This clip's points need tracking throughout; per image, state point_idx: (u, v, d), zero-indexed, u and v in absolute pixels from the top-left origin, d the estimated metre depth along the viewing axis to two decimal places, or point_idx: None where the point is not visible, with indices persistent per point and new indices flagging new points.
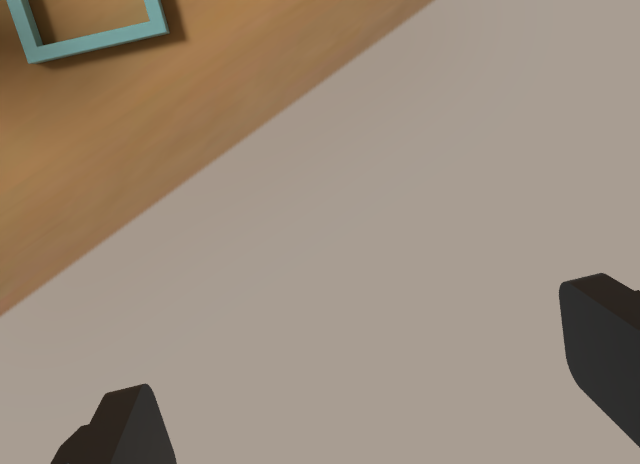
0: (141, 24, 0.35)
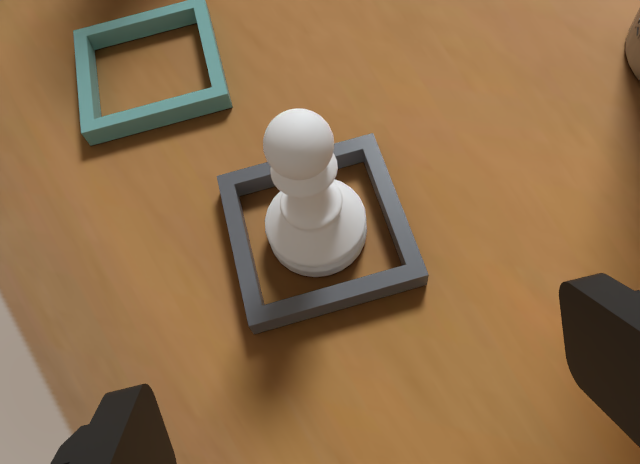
0: (92, 112, 0.33)
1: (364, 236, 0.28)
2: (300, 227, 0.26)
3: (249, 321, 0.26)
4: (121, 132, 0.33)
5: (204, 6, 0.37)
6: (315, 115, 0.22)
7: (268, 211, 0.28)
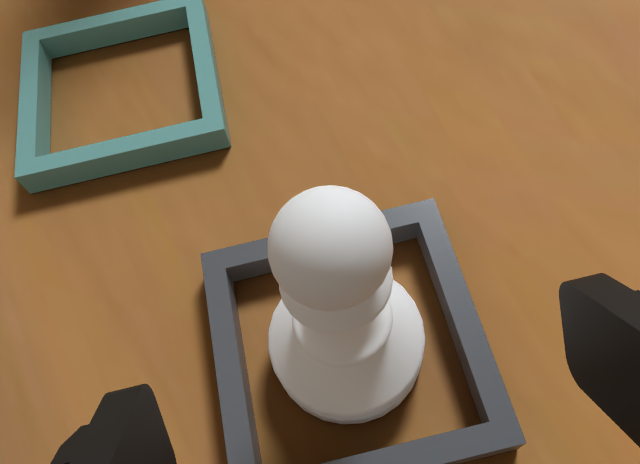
0: (33, 147, 0.24)
1: None
2: (324, 362, 0.16)
3: None
4: (73, 177, 0.24)
5: (200, 5, 0.27)
6: (363, 201, 0.12)
7: (274, 318, 0.19)
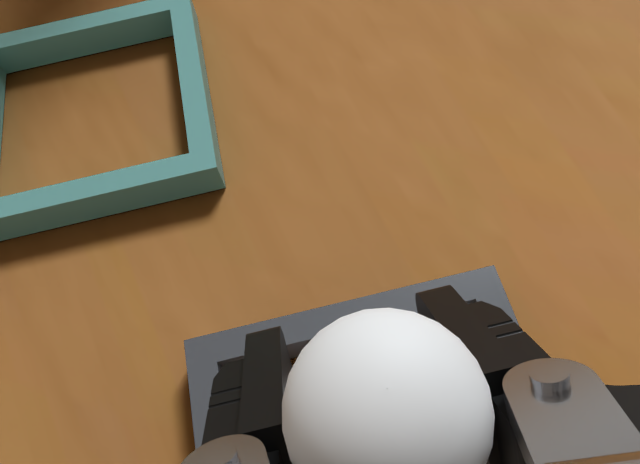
0: None
1: None
2: None
3: None
4: (24, 228, 0.19)
5: (188, 8, 0.22)
6: (448, 348, 0.07)
7: None
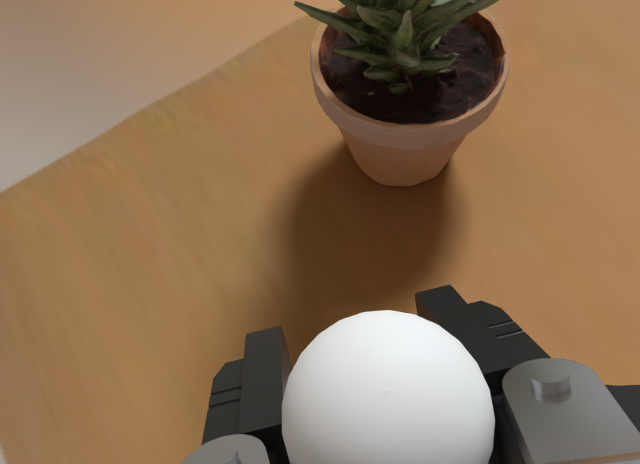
0: None
1: None
2: None
3: None
4: None
5: None
6: (448, 351, 0.07)
7: None
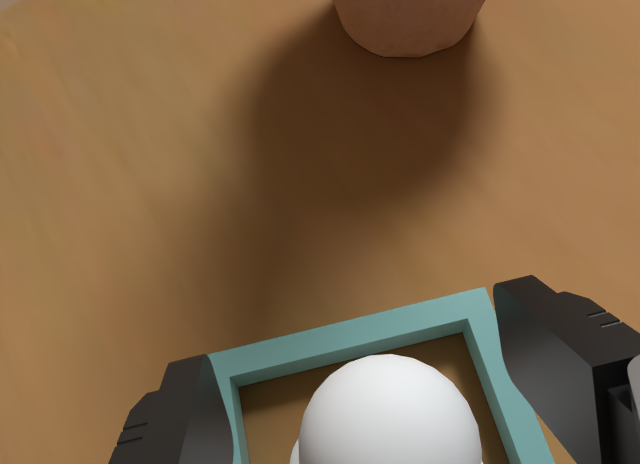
0: None
1: None
2: None
3: None
4: None
5: (492, 317, 0.16)
6: (442, 394, 0.08)
7: (294, 459, 0.15)
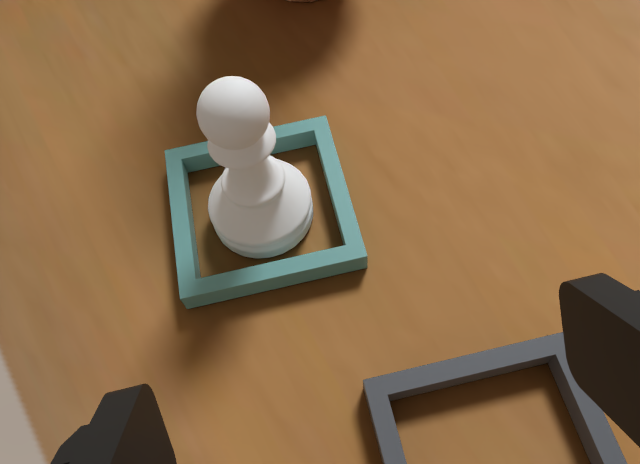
0: (193, 268, 0.26)
1: (309, 219, 0.28)
2: (239, 203, 0.25)
3: None
4: (228, 296, 0.26)
5: (327, 129, 0.30)
6: (250, 83, 0.22)
7: (212, 189, 0.28)
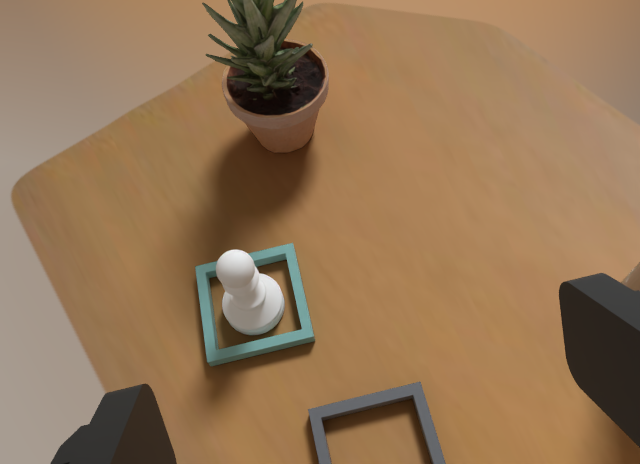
0: (214, 343, 0.46)
1: (281, 311, 0.47)
2: (240, 308, 0.45)
3: None
4: (234, 359, 0.46)
5: (293, 252, 0.49)
6: (244, 255, 0.41)
7: (224, 294, 0.47)
